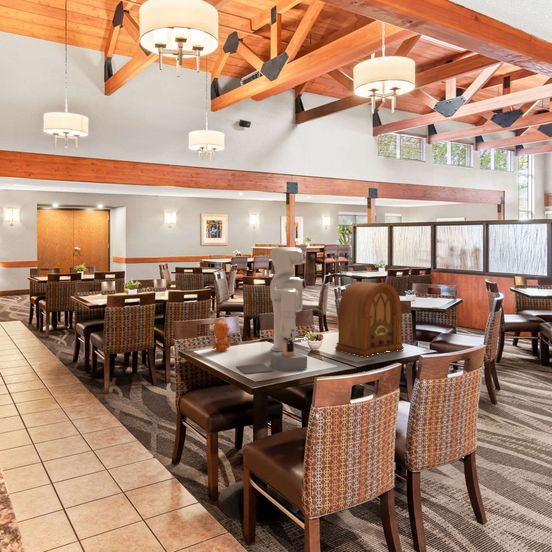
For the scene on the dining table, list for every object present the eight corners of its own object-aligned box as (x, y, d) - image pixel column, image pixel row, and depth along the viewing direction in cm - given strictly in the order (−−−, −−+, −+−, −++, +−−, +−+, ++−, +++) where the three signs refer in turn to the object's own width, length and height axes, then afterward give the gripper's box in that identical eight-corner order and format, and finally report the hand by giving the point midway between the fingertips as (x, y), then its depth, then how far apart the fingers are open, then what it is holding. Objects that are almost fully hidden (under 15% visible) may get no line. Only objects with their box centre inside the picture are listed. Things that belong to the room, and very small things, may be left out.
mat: (236, 367, 239) (236, 366, 239) (262, 364, 244) (262, 363, 244) (244, 374, 226) (244, 373, 226) (272, 371, 231) (272, 370, 231)
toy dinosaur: (227, 347, 285) (227, 317, 283) (233, 351, 275) (233, 320, 274) (209, 349, 280) (208, 319, 279) (215, 353, 270) (214, 321, 269)
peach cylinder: (281, 359, 242) (282, 339, 241) (290, 358, 244) (290, 338, 243) (285, 361, 238) (285, 341, 237) (294, 360, 239) (294, 340, 239)
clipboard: (283, 332, 331) (312, 338, 308) (283, 334, 332) (312, 341, 308) (260, 335, 320) (288, 342, 296) (260, 337, 320) (288, 345, 296)
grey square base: (270, 364, 245) (270, 353, 244) (295, 362, 250) (295, 350, 249) (280, 371, 232) (280, 359, 231) (307, 368, 237) (307, 356, 236)
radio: (364, 358, 260) (365, 284, 257) (335, 350, 279) (335, 282, 276) (403, 350, 279) (405, 282, 277) (373, 343, 298) (374, 279, 296)
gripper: (275, 312, 246) (275, 347, 247) (288, 317, 230) (288, 354, 231) (288, 311, 248) (288, 346, 250) (302, 316, 233) (302, 353, 234)
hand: (288, 350), depth 240 cm, fingers closed on peach cylinder, 4 cm apart
